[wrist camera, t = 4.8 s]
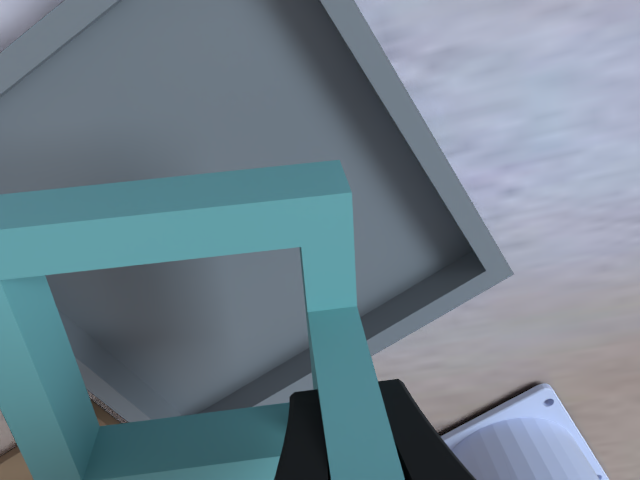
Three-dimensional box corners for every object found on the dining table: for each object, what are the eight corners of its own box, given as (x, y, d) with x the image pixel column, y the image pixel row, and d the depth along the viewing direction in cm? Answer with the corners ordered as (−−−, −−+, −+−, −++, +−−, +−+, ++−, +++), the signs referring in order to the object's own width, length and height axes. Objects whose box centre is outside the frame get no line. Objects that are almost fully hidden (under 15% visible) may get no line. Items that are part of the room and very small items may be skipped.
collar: (70, 458, 18) (-27, 735, 12) (-37, 198, 13) (-284, 422, 7) (354, 421, 18) (404, 668, 12) (339, 159, 14) (407, 338, 8)
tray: (494, 248, 23) (513, 274, 21) (187, 429, 26) (182, 464, 24) (259, -150, 16) (260, -161, 14) (-127, 164, 19) (-166, 188, 17)
